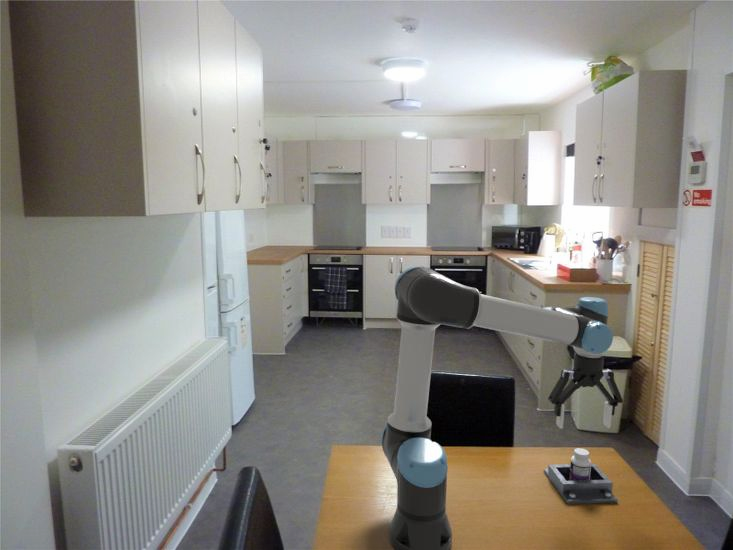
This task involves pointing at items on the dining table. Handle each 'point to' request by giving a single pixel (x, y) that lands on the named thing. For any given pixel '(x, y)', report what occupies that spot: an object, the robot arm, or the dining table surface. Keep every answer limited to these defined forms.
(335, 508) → the dining table surface
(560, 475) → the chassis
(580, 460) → the pill bottle
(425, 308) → the robot arm
